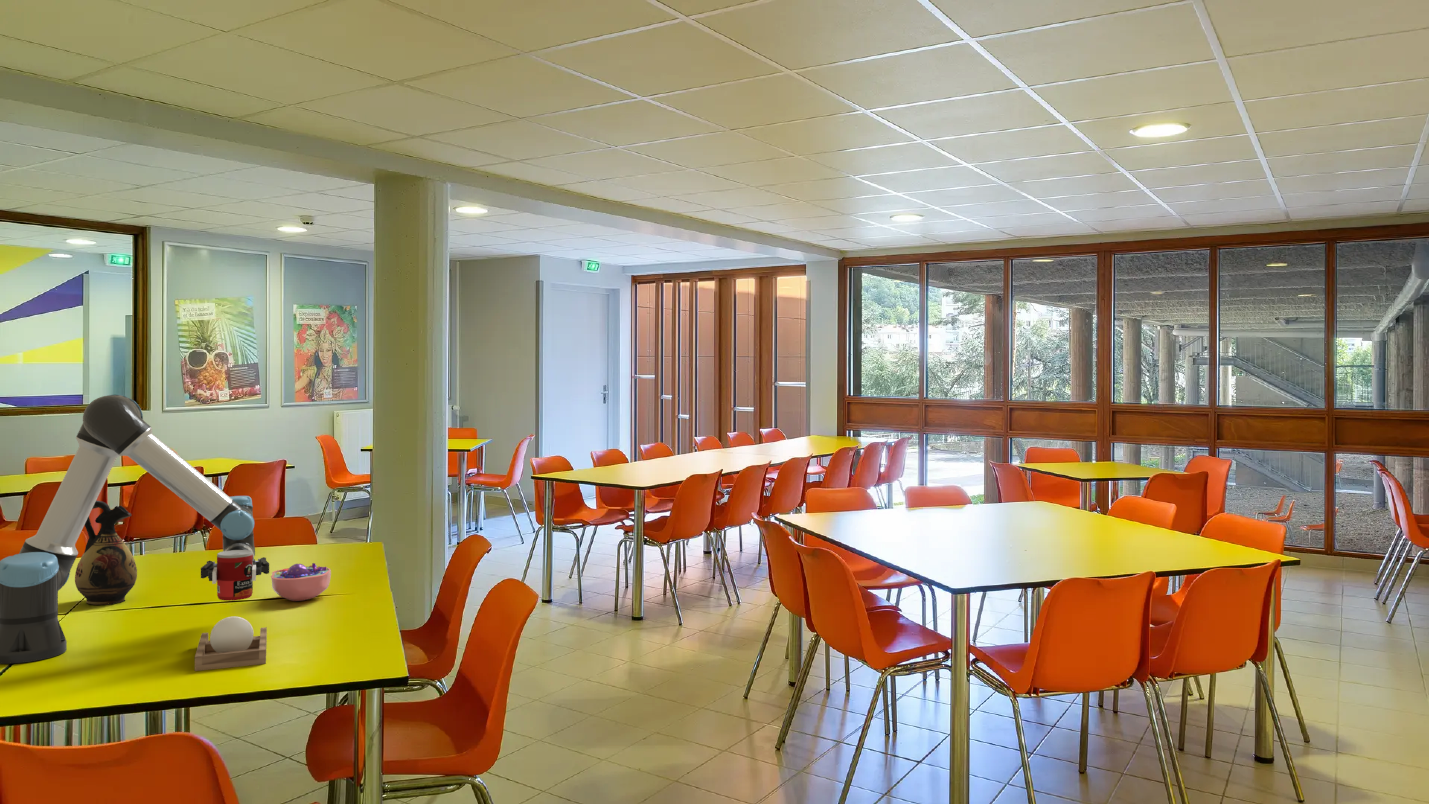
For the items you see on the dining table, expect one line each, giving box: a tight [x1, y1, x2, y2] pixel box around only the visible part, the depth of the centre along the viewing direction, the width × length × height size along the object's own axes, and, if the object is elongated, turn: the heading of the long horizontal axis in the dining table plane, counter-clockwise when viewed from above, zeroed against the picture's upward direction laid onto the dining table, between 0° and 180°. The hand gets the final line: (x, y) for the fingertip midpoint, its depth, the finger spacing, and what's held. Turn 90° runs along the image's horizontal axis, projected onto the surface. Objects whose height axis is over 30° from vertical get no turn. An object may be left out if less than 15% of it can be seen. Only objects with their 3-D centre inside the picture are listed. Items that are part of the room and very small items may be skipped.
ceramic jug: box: [74, 500, 138, 606], centre depth 272 cm, size 17×15×30 cm
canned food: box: [216, 550, 254, 602], centre depth 225 cm, size 8×8×11 cm
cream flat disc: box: [209, 615, 255, 653], centre depth 216 cm, size 1×9×9 cm, turn 116°
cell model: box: [270, 562, 332, 602], centre depth 279 cm, size 17×20×11 cm
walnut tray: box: [194, 626, 268, 672], centre depth 220 cm, size 22×14×3 cm, turn 26°
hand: (234, 576), depth 221 cm, fingers closed on canned food, 8 cm apart
